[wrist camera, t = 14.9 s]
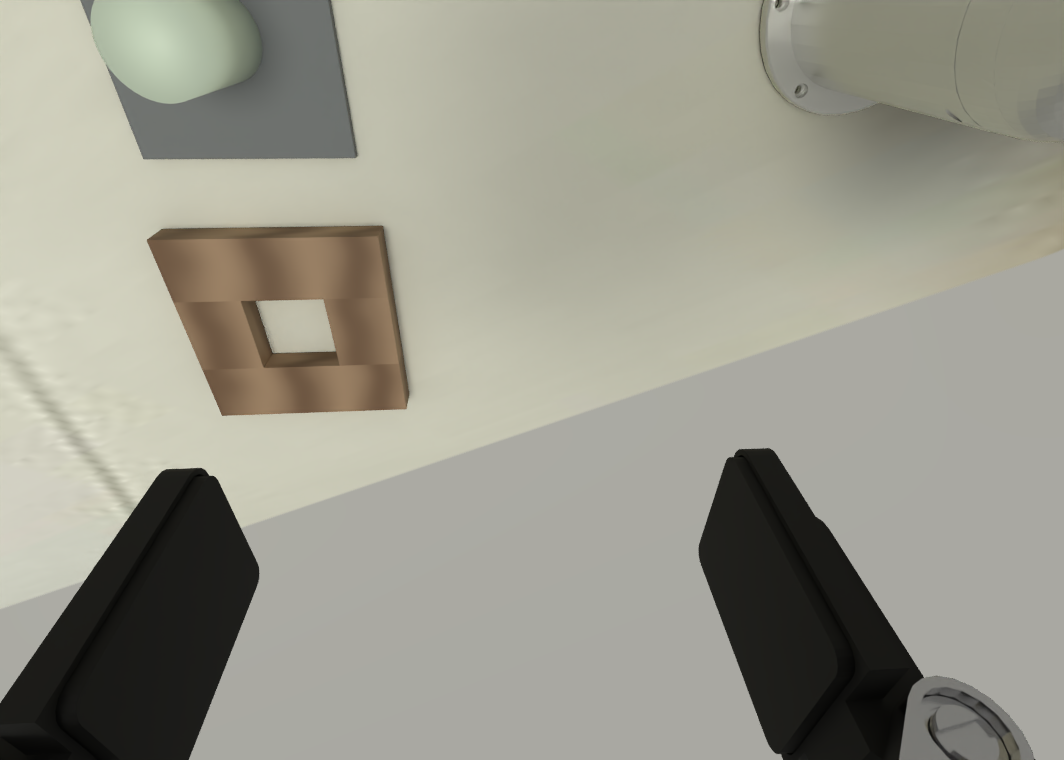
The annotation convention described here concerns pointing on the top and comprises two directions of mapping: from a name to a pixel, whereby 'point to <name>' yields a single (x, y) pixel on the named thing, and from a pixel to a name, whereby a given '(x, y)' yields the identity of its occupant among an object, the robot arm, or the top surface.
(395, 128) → the top surface
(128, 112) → the rubber pad
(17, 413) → the top surface
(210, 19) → the sage peg
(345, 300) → the pocket block
